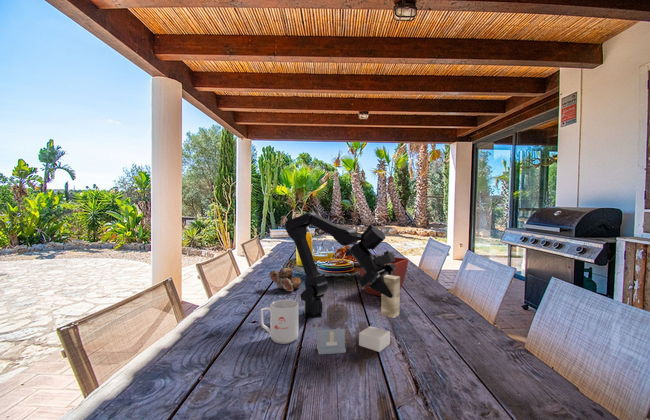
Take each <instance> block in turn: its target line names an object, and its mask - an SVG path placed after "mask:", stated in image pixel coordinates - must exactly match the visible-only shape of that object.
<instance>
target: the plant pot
mask: <svg viewBox="0 0 650 420" xmlns="http://www.w3.org/2000/svg"><path fill="white" fill-rule="evenodd" d="M376 255H377V254H376ZM377 256H378V257H379V256H380V255H377ZM394 258H395V261H393V262H391V263H392V264H394V266H395V267H396V269H394V270H393V275H392V276H399V277H400V291H401V290H402V288H403V287H402V286H403V284H404V281H405V278H406V274H407V268H408V265H409V264H408V263H409V258H405V257H396V256H394ZM357 263H358V262H357ZM388 264H389V263H388ZM359 265H360V264H359V263H358V266H359ZM385 265H386V264H385ZM358 269H359V275H360V278H361V277H362V276H363V275H364V274H365V273H366V272H365V271H364V270H363V268H361V269H360V268H359V267H358ZM369 285H370V283H368V284H367V286H366V287H364V288H363V289H364V291H365V294H368V295H373V296H378V297H379V296H380V297H382V293H380V292H378V291H376V290H374V289H372V288H368V286H369Z"/></svg>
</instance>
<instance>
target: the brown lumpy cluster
mask: <svg viewBox="0 0 650 420" xmlns="http://www.w3.org/2000/svg"><path fill="white" fill-rule="evenodd" d="M293 275H294V272H293V269H292V268H290V267H284V268H282V269H280V271H279V272H278V271H277V270H271V271H269V274H268V277H269V278H270V279H271V280H272V281H273V282H274V283H276V286H277V288H279V289H281V290H282V289H284V290H285V291H286V292H292V293H293V291H294V290H295V289H299V288H300V286H301V284H302V283H303V281H302V279H301V278H299V277H296V276H293Z"/></svg>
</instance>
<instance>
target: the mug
mask: <svg viewBox="0 0 650 420" xmlns="http://www.w3.org/2000/svg"><path fill="white" fill-rule="evenodd" d="M299 307H300V306H299V301H296V300H292V299H278V300H275V301H272V302H271V303H270V307H262V308H260V325H261V327H262V328H263V329H264V330H265V331H267V332H268V333H269V335H270V338H271V340H272V341H273V342H275V343H276V344H281V345H282V344H283V345H284V344H285V345H286V344H291V343H294V341H296V339H297V338H298V337H299V316H300V315H299ZM264 311H268V312H270V318H269V319H270V322H269V323H270V325H269V326H270V327H268V326H267V325H265V323H264Z"/></svg>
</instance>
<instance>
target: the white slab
mask: <svg viewBox="0 0 650 420" xmlns="http://www.w3.org/2000/svg"><path fill="white" fill-rule="evenodd" d="M390 344H391V331H389V330H386V329H382V328H380V327H379V328H378V327H376V326H372V325H370V326H368V327H366V328H364V329H363V330H362V331H360V332H359V333H358V346H360V347H363V348H366V349H369V350H372V351H375V352H378V353H381V352H382V351H383V350H384V349H385V348H387V347H388V346H389V345H390Z"/></svg>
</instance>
